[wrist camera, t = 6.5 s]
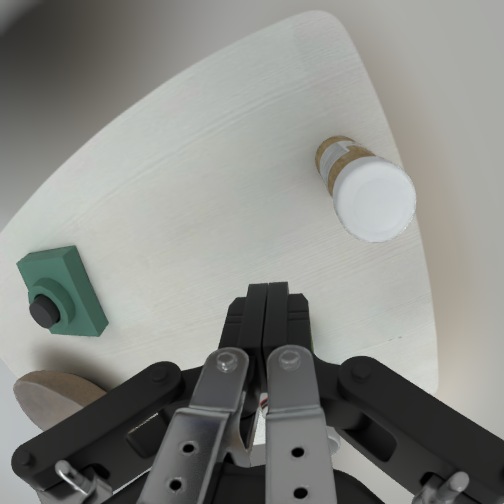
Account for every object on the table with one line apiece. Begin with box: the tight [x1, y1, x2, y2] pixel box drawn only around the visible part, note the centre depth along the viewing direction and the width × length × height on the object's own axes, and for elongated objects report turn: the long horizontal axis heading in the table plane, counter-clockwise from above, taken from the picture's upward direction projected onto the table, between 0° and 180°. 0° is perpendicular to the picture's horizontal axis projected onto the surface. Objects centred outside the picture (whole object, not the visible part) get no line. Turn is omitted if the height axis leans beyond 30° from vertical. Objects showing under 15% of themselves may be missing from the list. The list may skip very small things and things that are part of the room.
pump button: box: [29, 294, 60, 329], centre depth 32 cm, size 4×4×2 cm
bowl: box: [13, 371, 135, 433], centre depth 45 cm, size 26×26×10 cm
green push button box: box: [16, 246, 108, 337], centre depth 35 cm, size 12×10×5 cm
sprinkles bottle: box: [315, 136, 416, 243], centre depth 21 cm, size 5×5×13 cm
